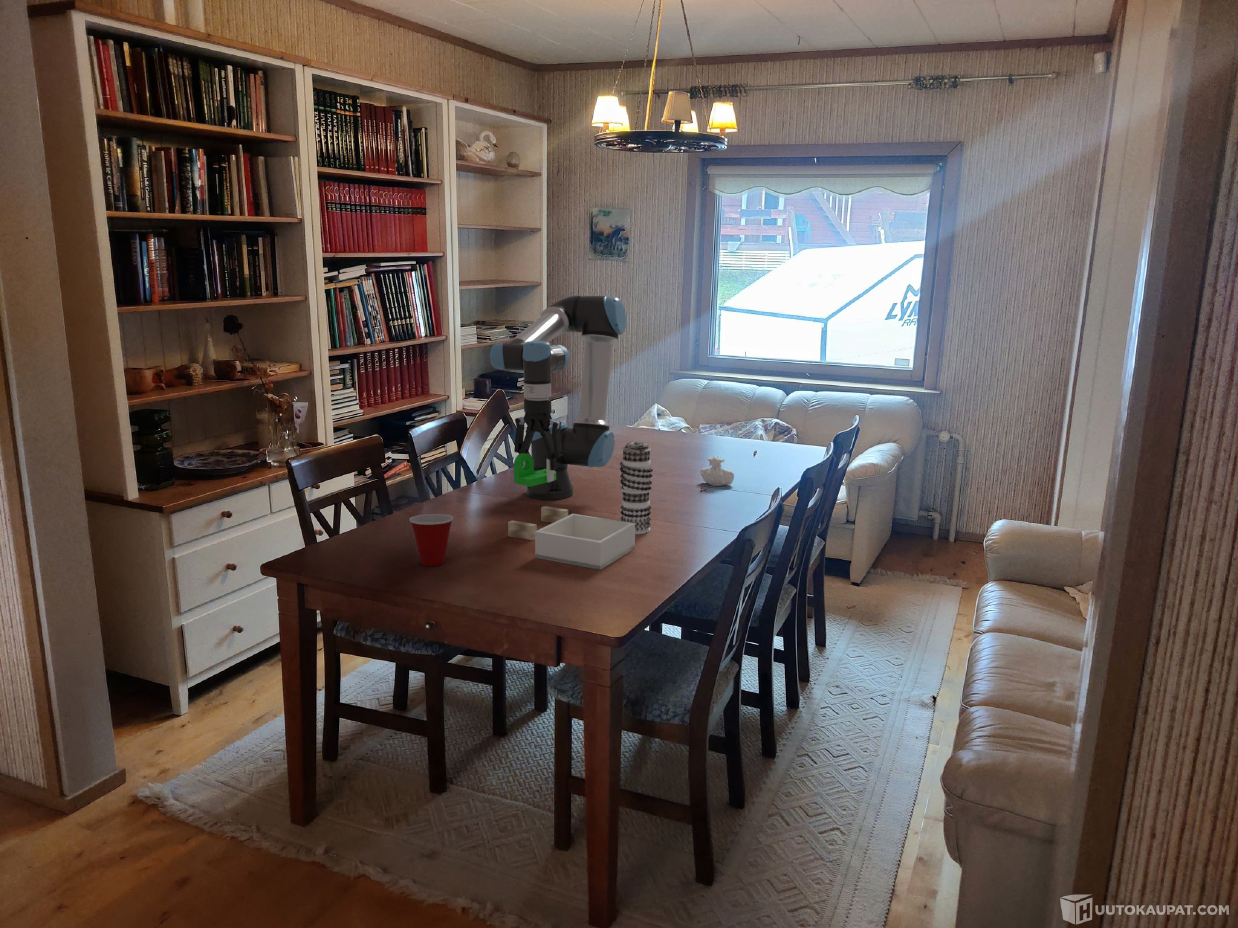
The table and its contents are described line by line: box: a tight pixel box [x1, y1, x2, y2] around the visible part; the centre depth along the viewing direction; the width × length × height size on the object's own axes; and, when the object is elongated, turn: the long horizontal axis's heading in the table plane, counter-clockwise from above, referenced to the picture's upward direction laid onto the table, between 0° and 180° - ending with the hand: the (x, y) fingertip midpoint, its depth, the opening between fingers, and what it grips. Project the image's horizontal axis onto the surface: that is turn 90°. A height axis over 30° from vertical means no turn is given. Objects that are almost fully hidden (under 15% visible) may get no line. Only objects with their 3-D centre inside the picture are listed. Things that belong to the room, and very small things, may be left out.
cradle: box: [507, 505, 569, 541], centre depth 255 cm, size 8×19×4 cm, turn 153°
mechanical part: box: [513, 453, 556, 488], centre depth 251 cm, size 12×6×8 cm, turn 138°
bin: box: [534, 513, 636, 571], centre depth 234 cm, size 19×19×7 cm
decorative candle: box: [619, 441, 654, 535], centre depth 253 cm, size 9×9×25 cm
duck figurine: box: [699, 455, 735, 487], centre depth 306 cm, size 12×8×11 cm
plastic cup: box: [409, 513, 454, 567], centre depth 225 cm, size 11×11×12 cm
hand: (538, 479), depth 252 cm, fingers closed on mechanical part, 7 cm apart
